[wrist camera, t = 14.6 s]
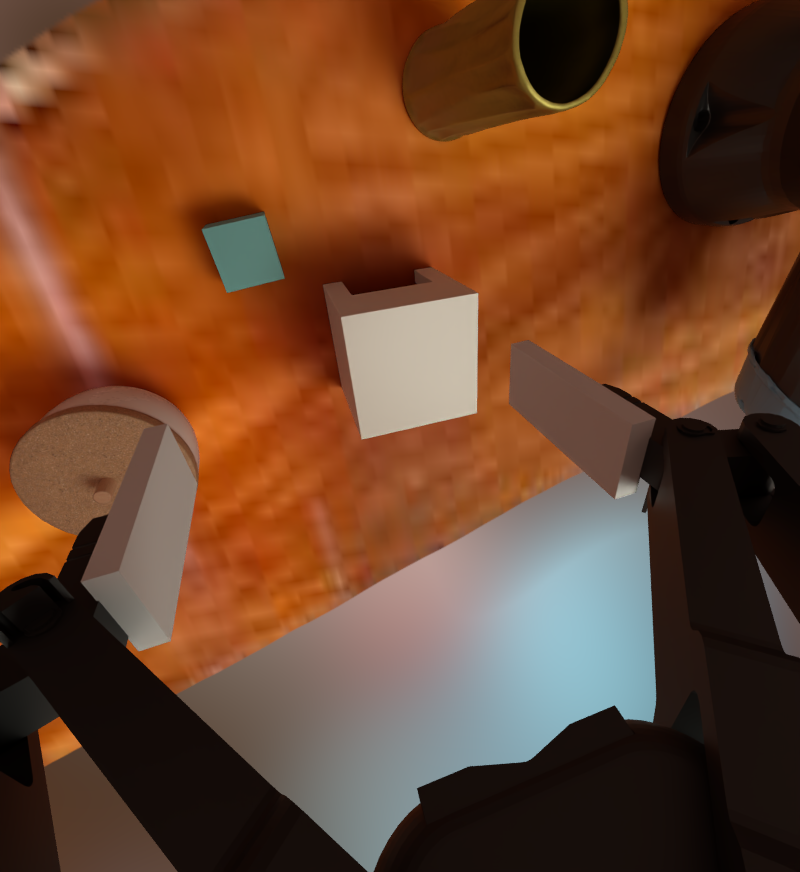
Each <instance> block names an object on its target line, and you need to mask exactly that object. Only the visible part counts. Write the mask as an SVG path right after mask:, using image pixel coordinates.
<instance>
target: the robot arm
mask: <svg viewBox="0 0 800 872" xmlns="http://www.w3.org/2000/svg"><path fill="white" fill-rule="evenodd" d="M659 163H660V178H661V184H662V189H663V192H664V195H665V197H666V200H667V202H668V204H669V205H670V207H671V208H672V210H673V211H674V212H675V213H676V214H677V215H678V216H679V217H681V218H682V219H684V220H685V221H688V222H690V223H694V224H700V225H708V226H718V227H723V226H733V225H738V224H742V223H745V222H748V221H751V220H753V219H759V218H766V217H771V216H776V215H780V214H784V213H789V212H793V211H797V210H800V0H759V1H757V2H754V3H752V4H750V5H748V6H746V7H744V8H743V9H741V10H739V11H738V12H737V13H735V14H734V15H732V16H731V17H730V18H729V19H728V20H726V21H725V22H724V23H723V24H722V25H721V26H720V27H719V28H718V29H717V30H716V31H715V32H714V33H713V34H712V35H711V36H710V38H709V39H708V40H707V41H706V42H705V44H704V45H703V46H702V48H701V49H700V50H699V52H698V53H697V54H696V56H695V57H694V59H693V61H692V62H691V64H690V65H689V67H688V69H687V70H686V72H685V74H684V76H683V78H682V80H681V82H680V84H679V86H678V88H677V90H676V93H675V95H674V97H673V100H672V102H671V105H670V108H669V111H668V114H667V118H666V121H665V125H664V129H663V134H662V140H661V147H660V161H659ZM735 397H736V401H737V403H738V404H739V407H740V408H741V409H742V411H743V412H744V413H745V414H746V416H745V417H744V419H743V421H742V423H741V426H740V428H739V429H732V430H717V428H715V427H714V426H712V425H711V424H709V423H707V422H704V421H701V420H697V419H692V418H678V419H673V420H672V419H671V418H669V417H667V416H665V415H664V414H662V413H660V412H659V411H657V410H655V409H654V408H652V407H650V406H649V405H647V404H645V403H644V402H643V403H641V401H640V400H638V399H637V398H635V397H632V396H631V395H630V394H628V393H627V392H625V391H623V390H622V389H620V388H617V387H613V386H610V385H607V384H602V385H601V384H599V383H598V382H596V381H594V380H593V379H591V378H590V377H588V376H586V375H585V374H583V373H581V372H580V371H578V370H576V369H575V368H573V367H572V366H570V365H568V364H567V363H565V362H563V361H562V360H560V359H559V358H557V357H555V356H554V355H552V354H550V353H549V352H547V351H545V350H544V349H542V348H541V347H539V346H537V345H536V344H534V343H532V342H531V341H529V340H527V341H522V342H518V343H514V344H511V366H510V391H509V404H510V405H511V406H512V407H513V408H514V409H516V410H517V411H518V412H519V413H520V414H521V415H522V416H523V417H524V418H525V419H527V420H528V421H529V422H530V423H531V424H532V425H533V426H534V427H535V428H537V429H538V430H539V431H540V432H541V433H542V434H543V435H544V436H545V437H546V438H548V439H549V440H550V441H551V442H552V443H553V444H554V445H555V446H556V447H557V448H559V449H560V450H561V451H562V452H563V453H564V454H565V455H566V456H567V457H569V458H570V459H571V460H572V461H573V462H574V463H575V464H576V465H577V466H578V467H580V468H581V469H582V470H583V471H584V472H585V473H586V474H587V475H588V476H590V477H591V478H592V479H593V480H594V481H595V482H596V483H597V484H598V485H600V486H601V487H602V488H603V489H604V490H605V491H606V492H607V493H608V494H609V495H610V496H612V497H613V498H614V499H618V498H621V497H624V496H627V495H630V494H633V493H636V490H637V487H638V483H639V479H640V477H641V478H642V479H643V480H645V481H646V482H647V483H648V484H650V485H649V488H648V492H647V495H646V499H645V502H644V506H643V509H642V512H644V513H645V512H646V511H647V508H648V526H649V527H648V529H649V548H650V570H651V591H652V611H653V634H654V655H655V676H656V708H655V713H654V720H653V723H652V722H647V721H642V720H630V719H628V720H624V718H623V717H622V715H621V714H620V712H619V711H618V709H617V708H616V707H615V706H612V707H610V708H607V709H605V710H603V711H600V712H598V713H596V714H593V715H591V716H588V717H586V718H584V719H581V720H579V721H576V722H574V723H572V724H569V725H568V726H567V727H566V728H565V729H564V730H563V731H562V732H561V733H560V734H559V735H557V736H556V737H555V738H554V739H553V740H552V741H551V742H550V743H549V744H548V745H546V746H545V747H544V748H543V749H542V750H541V751H540V752H539V753H538V754H537V755H536V756H534V757H533V758H532V759H531V760H529V761H527V762H521V763H509V764H497V765H484V766H470V767H467V768H464V769H462V770H460V771H457V772H455V773H453V774H450V775H448V776H446V777H443V778H441V779H438V780H436V781H433V782H431V783H429V784H426V785H424V786H422V787H419V788H417V790H418V794H419V798H420V804H419V805H418V806H416V807H415V808H414V809H413V810H412V811H411V812H410V813H409V814H408V815H407V816H406V817H405V818H404V820H403V821H402V822H401V823H400V824H399V825H398V827H397V828H396V830H395V831H394V832H393V834H392V835H391V837H390V838H389V840H388V842H387V844H386V846H385V848H384V850H383V851H382V853H381V855H380V857H379V860H378V862H377V865H376V867H375V870H374V872H800V658H798V657H795V656H791V655H787V654H786V653H785V652H784V650H783V648H782V645H781V642H780V639H779V635H778V632H777V628H776V625H775V621H774V618H773V614H772V611H771V608H770V604H769V601H768V597H767V594H766V591H765V587H764V583H763V580H762V577H761V573H760V570H759V566H758V563H757V559H756V556H757V558H758V559H759V561H760V562H761V564H762V566H763V567H764V569H765V570H766V572H767V573H768V575H769V577H770V578H771V579H772V581H773V583H774V584H775V586H776V587H777V589H778V591H779V592H780V594H781V595H782V597H783V598H784V600H785V602H786V603H787V605H788V606H789V608H790V609H791V611H792V612H793V614H794V616H795V617H796V619H797V620H798V622H799V623H800V253H799V255H798V257H797V258H796V260H795V262H794V264H793V266H792V268H791V270H790V272H789V274H788V276H787V278H786V280H785V282H784V284H783V286H782V288H781V290H780V292H779V294H778V296H777V298H776V300H775V302H774V304H773V306H772V308H771V310H770V311H769V313H768V315H767V317H766V319H765V321H764V323H763V325H762V327H761V329H760V331H759V333H758V335H757V337H756V338H754V339H752V341H751V342H750V344H749V346H748V356H747V358H746V360H745V362H744V365H743V367H742V369H741V372H740V374H739V376H738V378H737V381H736V384H735ZM774 487H775V489H774ZM196 490H197V482H196V480H195V478H194V476H193V474H192V472H191V470H190V468H189V466H188V464H187V462H186V460H185V458H184V456H183V454H182V452H181V450H180V448H179V446H178V444H177V442H176V440H175V438H174V436H173V433H172V431H171V429H170V427H169V425H168V423H167V424H162V425H158V426H154V427H149V428H145V429H144V430H143V432H142V435H141V437H140V440H139V442H138V444H137V447H136V449H135V452H134V454H133V456H132V459H131V461H130V464H129V466H128V469H127V471H126V473H125V476H124V478H123V481H122V483H121V485H120V488H119V490H118V493H117V495H116V498H115V500H114V502H113V505H112V507H111V510H110V512H109V514H108V515H104V516H100V517H96V518H93V519H92V520H91V521H90V522H89V523H88V524H87V525H86V526H85V527H84V528H83V529H82V530H81V531H80V532H79V534H78V536H77V538H76V540H75V542H74V544H73V547H72V549H73V550H71V551H70V553H69V555H68V557H67V559H66V560H67V562H65V563H64V566H63V568H62V570H61V572H60V574H59V576H58V578H56V577H55V576H53V575H51V574H48V573H41V574H34V575H31V576H28V577H25V578H22V579H20V580H19V581H17V582H15V583H13V584H11V585H10V586H8V587H6V588H5V589H4V590H3V591H1V592H0V642H1V643H2V644H3V645H1V646H0V872H61V871H60V865H59V858H58V852H57V846H56V840H55V834H54V827H53V821H52V815H51V809H50V803H49V796H48V791H47V784H46V778H45V771H44V765H43V759H42V753H41V747H40V740H39V734H38V729H39V728H41V727H43V726H44V725H46V724H47V723H49V722H51V721H52V720H54V719H56V718H57V717H59V716H60V718H61V719H62V720H63V722H64V723H65V724H66V726H67V727H68V728H69V730H70V731H71V732H72V733H73V735H74V736H75V737H76V739H77V740H78V741H79V743H80V744H81V745H82V747H83V748H84V749H85V751H86V752H87V753H88V754H89V756H90V757H91V758H92V760H93V761H94V762H95V764H96V765H97V766H98V768H99V769H100V770H101V772H102V773H103V774H104V775H105V777H106V778H107V779H108V781H109V782H110V783H111V785H112V786H113V787H114V789H115V790H116V791H117V792H118V794H119V795H120V796H121V798H122V799H123V800H124V802H125V803H126V804H127V806H128V807H129V808H130V810H131V811H132V812H133V814H134V815H135V816H136V817H137V819H138V820H139V821H140V823H141V824H142V825H143V827H144V828H145V829H146V831H147V832H148V833H149V835H150V836H151V837H152V839H153V840H154V841H155V842H156V844H157V845H158V846H159V848H160V849H161V850H162V852H163V853H164V854H165V856H166V857H167V858H168V860H169V861H170V862H171V863H172V865H173V866H174V867H175V869H176V870H177V871H178V872H367V871H366V870H365V869H364V868H363V867H362V866H361V865H360V864H359V863H358V862H357V861H356V860H355V859H354V858H352V857H351V856H350V855H349V854H348V853H347V852H346V851H345V850H344V849H343V848H342V847H341V846H340V845H339V844H337V843H336V842H335V841H334V840H333V839H332V838H331V837H330V836H329V835H328V834H327V833H326V832H325V831H324V830H323V829H322V828H321V827H319V826H318V825H317V824H316V823H315V822H314V821H313V820H312V819H311V818H310V817H309V816H308V815H307V814H306V813H305V812H304V811H302V810H301V809H300V808H299V807H298V806H297V805H295V803H294V802H292V801H291V800H290V799H289V798H287V797H286V796H285V795H282V794H281V793H279V792H278V791H277V790H276V789H275V788H274V787H273V786H272V785H270V784H269V783H268V782H267V781H266V780H265V779H264V778H263V777H262V776H261V775H260V774H259V773H258V772H257V771H256V770H255V769H254V768H253V767H252V766H251V765H249V764H248V763H247V762H246V761H245V760H244V759H243V758H242V757H241V756H240V755H239V754H238V753H237V752H236V751H235V750H233V748H232V747H230V746H229V745H228V744H227V743H226V742H225V741H224V740H223V739H222V738H221V737H220V736H219V735H218V734H217V733H216V732H215V731H214V730H213V729H211V728H210V727H209V726H208V725H207V724H206V723H205V722H204V721H203V720H202V719H201V718H200V717H199V716H198V715H197V714H196V713H195V712H193V711H192V710H191V709H190V708H189V707H188V706H187V705H186V704H185V703H184V702H183V701H182V700H181V699H180V698H179V697H177V695H176V694H175V693H173V692H172V691H171V690H170V689H169V688H168V687H167V686H166V685H165V684H164V683H163V682H162V681H161V680H160V679H159V678H158V677H157V676H155V675H154V674H153V673H152V672H151V671H150V670H149V669H148V668H147V667H146V666H145V665H144V664H143V663H142V662H141V661H140V660H139V659H138V658H136V657H135V656H134V655H133V654H132V653H131V652H130V651H129V650H128V649H127V648H126V644H127V640H128V639H129V640H130V642H131V643H132V644H133V645H134V646H135V648H136V649H137V650H138V651H141V650H144V649H147V648H151V647H154V646H157V645H160V644H163V643H166V642H169V641H171V636H172V630H173V624H174V618H175V613H176V607H177V601H178V595H179V589H180V583H181V578H182V572H183V566H184V560H185V554H186V548H187V542H188V537H189V531H190V525H191V519H192V513H193V507H194V501H195V496H196ZM755 555H756V556H755Z"/></svg>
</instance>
